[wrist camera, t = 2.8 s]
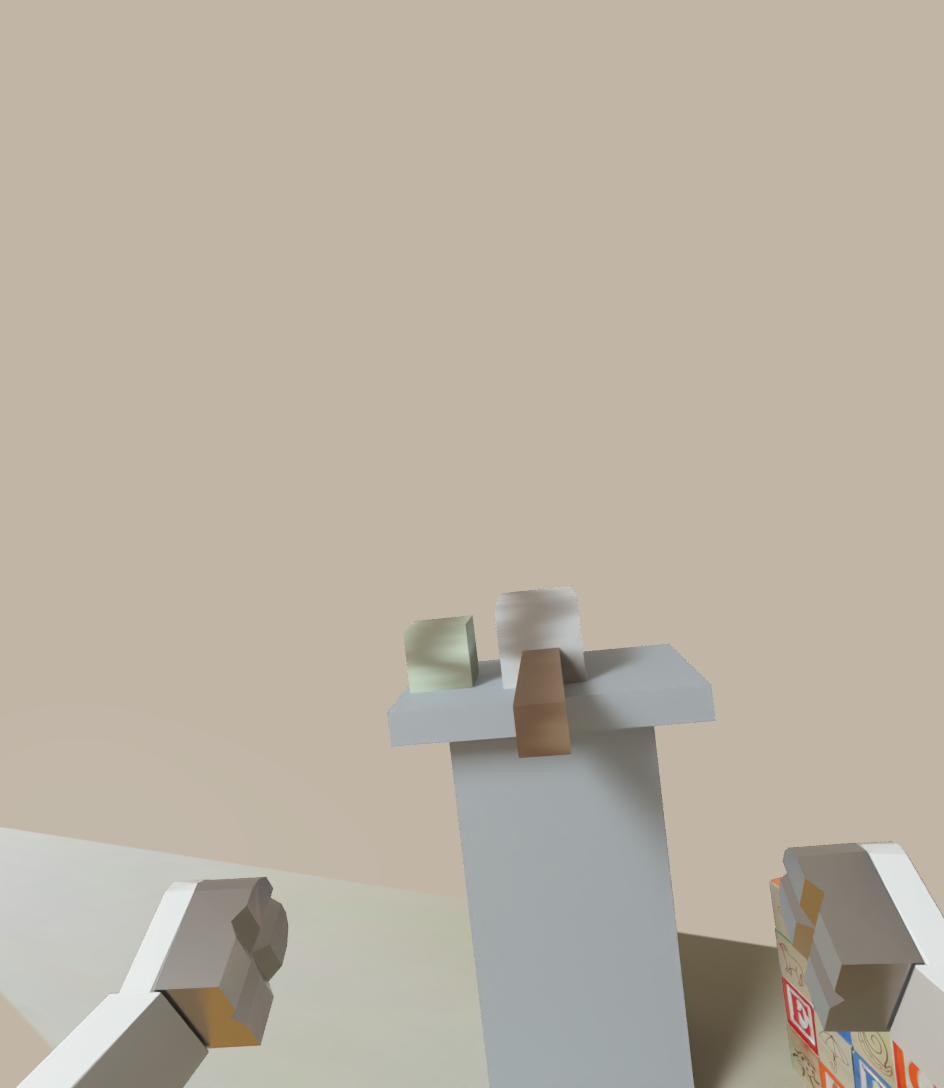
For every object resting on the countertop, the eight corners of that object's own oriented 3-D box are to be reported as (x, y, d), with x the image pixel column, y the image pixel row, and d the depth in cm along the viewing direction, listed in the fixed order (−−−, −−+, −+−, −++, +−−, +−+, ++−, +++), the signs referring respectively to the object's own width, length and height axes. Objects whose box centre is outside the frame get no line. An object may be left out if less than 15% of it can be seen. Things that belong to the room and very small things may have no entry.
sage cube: (479, 673, 44) (472, 615, 44) (472, 687, 40) (465, 624, 40) (422, 678, 45) (415, 621, 45) (410, 693, 41) (402, 630, 41)
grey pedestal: (707, 996, 47) (668, 643, 47) (763, 1154, 35) (711, 684, 35) (465, 1003, 49) (425, 666, 49) (440, 1156, 37) (387, 712, 37)
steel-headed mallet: (579, 655, 47) (571, 586, 46) (605, 751, 27) (591, 631, 27) (510, 661, 47) (502, 593, 47) (485, 760, 27) (472, 643, 27)
